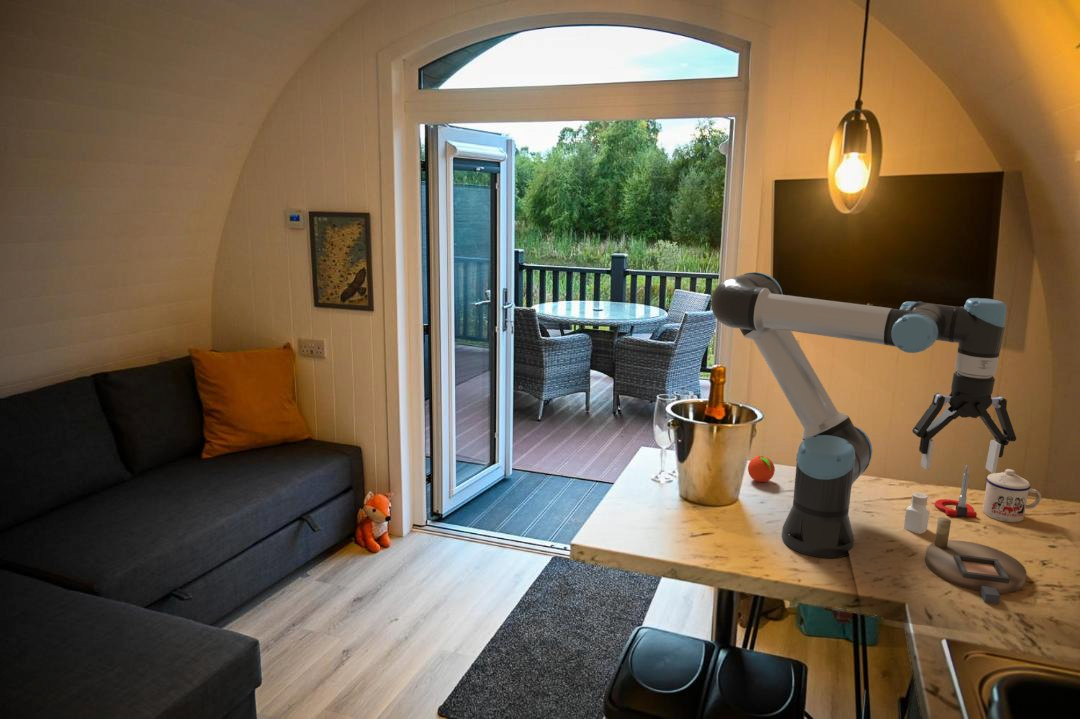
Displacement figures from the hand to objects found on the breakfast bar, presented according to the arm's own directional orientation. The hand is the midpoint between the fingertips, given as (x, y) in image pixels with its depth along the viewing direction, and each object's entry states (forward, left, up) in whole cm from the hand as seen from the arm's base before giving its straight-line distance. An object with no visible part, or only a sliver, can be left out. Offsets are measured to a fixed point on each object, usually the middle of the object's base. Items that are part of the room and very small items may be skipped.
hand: (957, 469), depth 162 cm
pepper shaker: (-5, +7, -19) cm, 21 cm away
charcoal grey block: (+3, -22, -19) cm, 29 cm away
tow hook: (+7, +24, -19) cm, 31 cm away
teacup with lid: (+19, +24, -19) cm, 36 cm away
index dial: (+3, -10, -18) cm, 21 cm away
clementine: (-39, +28, -19) cm, 52 cm away
